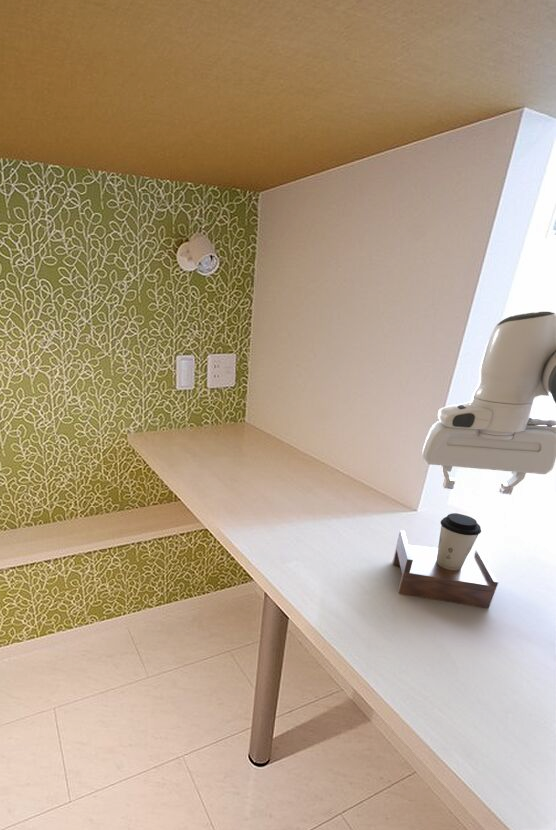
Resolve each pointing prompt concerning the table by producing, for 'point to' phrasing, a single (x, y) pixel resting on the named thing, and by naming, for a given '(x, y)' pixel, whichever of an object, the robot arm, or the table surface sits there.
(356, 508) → the table surface
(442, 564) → the coffee cup
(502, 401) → the robot arm
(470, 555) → the stand
